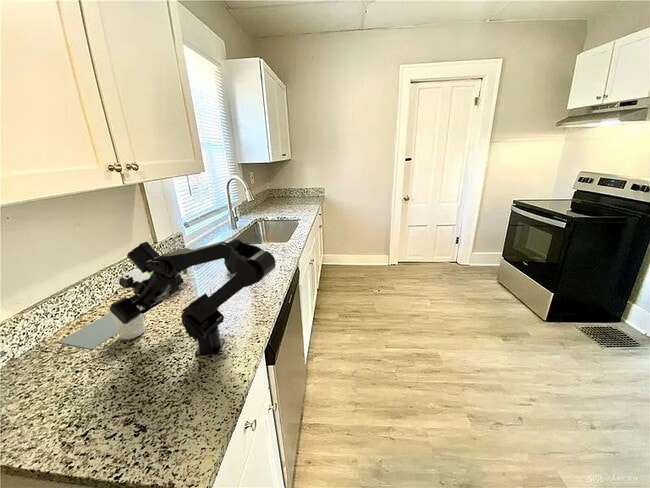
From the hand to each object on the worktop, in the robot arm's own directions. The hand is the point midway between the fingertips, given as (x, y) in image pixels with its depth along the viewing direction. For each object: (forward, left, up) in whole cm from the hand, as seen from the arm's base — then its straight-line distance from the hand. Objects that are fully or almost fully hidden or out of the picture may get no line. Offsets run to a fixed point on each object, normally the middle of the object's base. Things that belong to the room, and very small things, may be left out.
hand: (136, 312), depth 84 cm
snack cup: (+32, +7, -8) cm, 34 cm away
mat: (+5, +15, -8) cm, 18 cm away
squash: (+47, -19, -8) cm, 52 cm away
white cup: (+1, +4, -8) cm, 9 cm away
